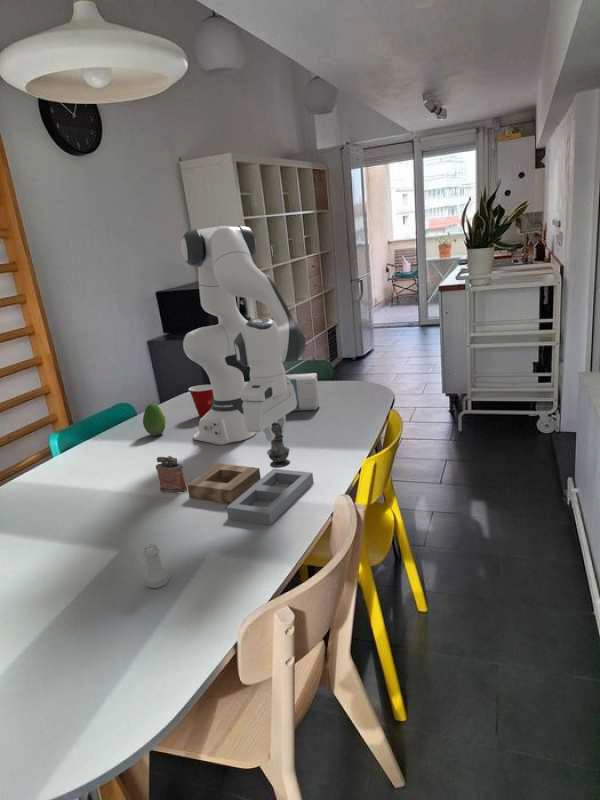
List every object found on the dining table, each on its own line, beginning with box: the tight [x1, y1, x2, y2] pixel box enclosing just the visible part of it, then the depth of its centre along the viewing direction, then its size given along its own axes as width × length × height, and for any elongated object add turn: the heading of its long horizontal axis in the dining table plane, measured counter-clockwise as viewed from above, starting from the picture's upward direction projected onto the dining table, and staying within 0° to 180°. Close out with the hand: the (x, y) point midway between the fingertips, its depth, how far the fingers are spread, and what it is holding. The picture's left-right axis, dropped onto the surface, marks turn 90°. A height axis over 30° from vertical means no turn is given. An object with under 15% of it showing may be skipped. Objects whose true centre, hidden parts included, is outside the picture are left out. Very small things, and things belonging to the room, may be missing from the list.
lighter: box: [155, 455, 188, 494], centre depth 151 cm, size 8×3×10 cm, turn 71°
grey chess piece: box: [266, 422, 291, 469], centre depth 140 cm, size 6×6×12 cm
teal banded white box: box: [285, 356, 321, 412], centre depth 210 cm, size 21×8×20 cm, turn 77°
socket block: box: [186, 463, 262, 505], centre depth 148 cm, size 14×14×4 cm
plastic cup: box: [188, 384, 214, 419], centre depth 216 cm, size 11×11×12 cm
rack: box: [225, 468, 314, 526], centre depth 139 cm, size 12×23×3 cm, turn 153°
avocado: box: [142, 402, 166, 437], centre depth 200 cm, size 8×8×12 cm
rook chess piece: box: [142, 543, 169, 589], centre depth 109 cm, size 4×4×8 cm
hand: (276, 436), depth 140 cm, fingers closed on grey chess piece, 4 cm apart
